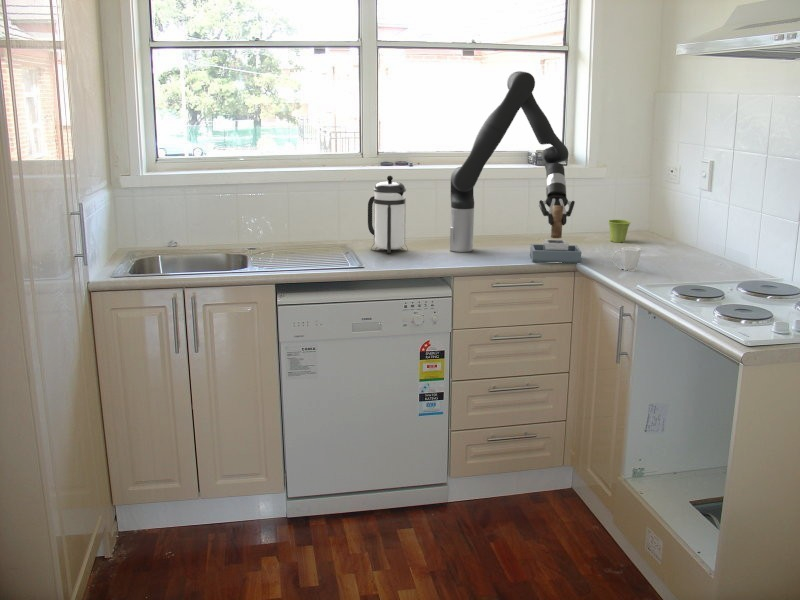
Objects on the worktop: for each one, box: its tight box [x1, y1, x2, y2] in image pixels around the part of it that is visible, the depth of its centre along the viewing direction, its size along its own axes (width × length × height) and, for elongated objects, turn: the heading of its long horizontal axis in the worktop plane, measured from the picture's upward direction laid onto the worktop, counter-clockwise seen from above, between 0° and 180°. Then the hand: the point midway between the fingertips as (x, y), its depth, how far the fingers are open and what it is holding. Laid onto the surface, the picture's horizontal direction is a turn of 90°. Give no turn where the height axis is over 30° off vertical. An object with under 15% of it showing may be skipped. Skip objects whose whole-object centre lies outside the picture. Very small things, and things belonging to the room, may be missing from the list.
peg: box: [550, 205, 563, 239], centre depth 301 cm, size 4×4×12 cm
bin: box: [529, 243, 582, 265], centre depth 305 cm, size 18×13×4 cm
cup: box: [611, 246, 642, 272], centre depth 288 cm, size 7×10×8 cm
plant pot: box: [607, 219, 632, 243], centre depth 341 cm, size 9×9×9 cm
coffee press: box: [367, 175, 409, 255], centre depth 316 cm, size 17×16×30 cm
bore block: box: [542, 238, 569, 251], centre depth 304 cm, size 9×9×6 cm
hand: (557, 223), depth 300 cm, fingers closed on peg, 4 cm apart
